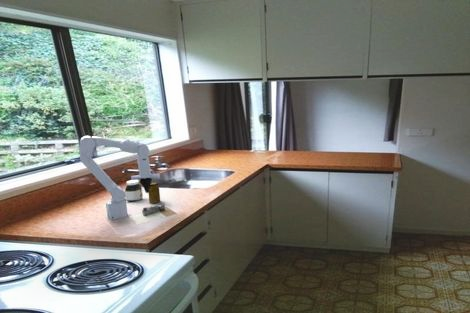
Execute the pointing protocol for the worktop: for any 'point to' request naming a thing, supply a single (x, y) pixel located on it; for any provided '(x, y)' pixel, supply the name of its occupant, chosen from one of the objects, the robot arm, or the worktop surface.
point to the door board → (152, 216)
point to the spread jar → (133, 191)
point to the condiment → (154, 193)
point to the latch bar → (153, 209)
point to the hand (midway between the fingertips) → (147, 192)
